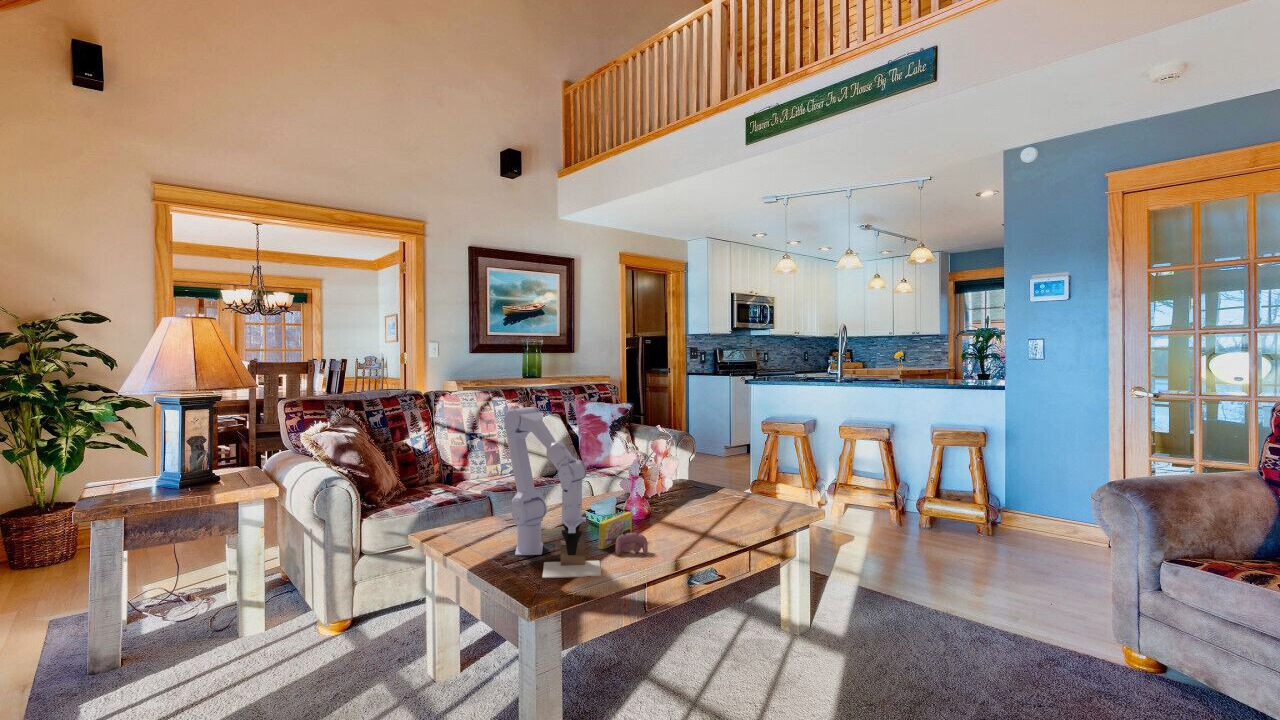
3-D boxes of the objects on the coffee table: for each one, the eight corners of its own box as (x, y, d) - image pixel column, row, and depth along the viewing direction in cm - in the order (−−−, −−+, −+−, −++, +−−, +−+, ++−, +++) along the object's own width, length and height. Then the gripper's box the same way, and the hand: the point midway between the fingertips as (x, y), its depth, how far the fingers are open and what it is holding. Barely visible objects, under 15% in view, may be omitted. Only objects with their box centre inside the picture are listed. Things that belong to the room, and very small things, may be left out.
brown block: (560, 561, 178) (560, 540, 178) (584, 560, 179) (585, 540, 179) (560, 565, 175) (560, 544, 175) (585, 564, 175) (585, 544, 175)
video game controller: (647, 557, 188) (646, 533, 191) (648, 555, 184) (647, 531, 187) (615, 557, 187) (615, 533, 190) (615, 555, 183) (615, 531, 186)
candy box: (603, 550, 189) (603, 523, 189) (597, 549, 191) (597, 522, 190) (632, 536, 203) (632, 511, 203) (627, 535, 204) (627, 510, 204)
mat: (544, 563, 177) (544, 562, 177) (599, 561, 179) (599, 560, 179) (542, 578, 166) (542, 576, 166) (601, 576, 168) (601, 574, 168)
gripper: (586, 510, 169) (586, 558, 170) (585, 496, 184) (585, 541, 184) (560, 510, 169) (560, 559, 169) (561, 497, 183) (561, 542, 184)
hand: (571, 550), depth 177 cm, fingers open, 7 cm apart
